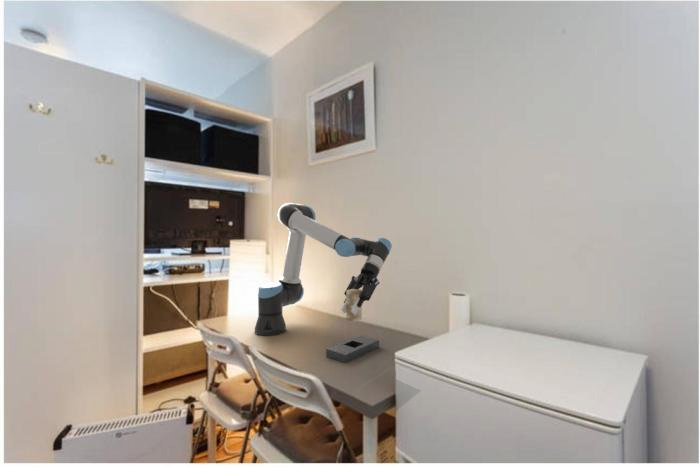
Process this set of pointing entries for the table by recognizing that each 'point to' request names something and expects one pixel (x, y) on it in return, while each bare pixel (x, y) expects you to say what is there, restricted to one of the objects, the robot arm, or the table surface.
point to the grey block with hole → (352, 348)
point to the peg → (352, 304)
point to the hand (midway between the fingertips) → (348, 312)
